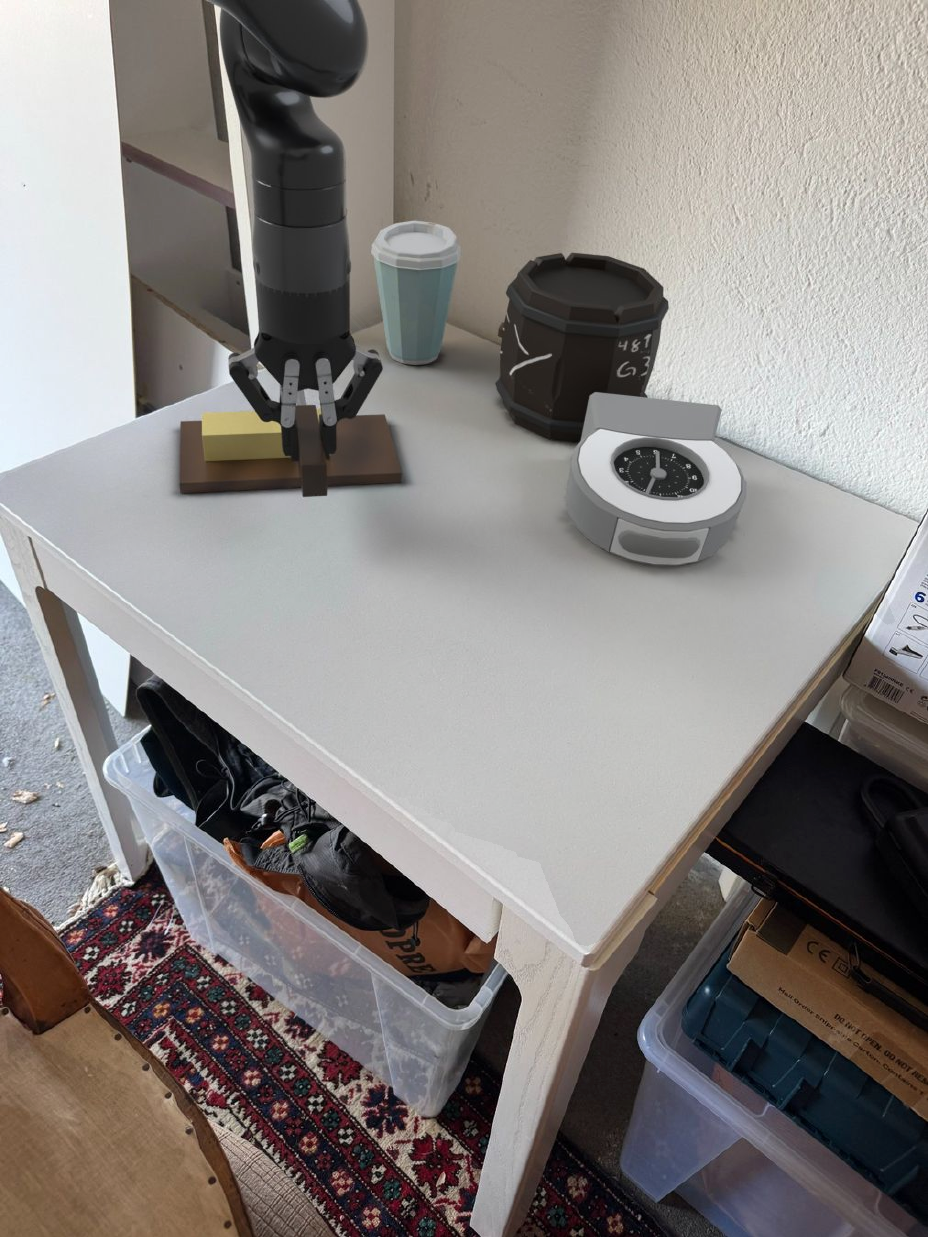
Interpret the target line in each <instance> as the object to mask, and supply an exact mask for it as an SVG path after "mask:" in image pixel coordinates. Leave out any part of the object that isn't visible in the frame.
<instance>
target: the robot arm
mask: <svg viewBox="0 0 928 1237" xmlns="http://www.w3.org/2000/svg"><path fill="white" fill-rule="evenodd" d="M205 1H206V2H208V3H210V4H211V5H215V6H216V7H218V8H220V13H219V42H220V49H221V53H222V54H221V55H222V58H223V60H222V61H223V64H224V69H225V72H226V75H227V79H228V83H229V86H230V91H231V94H232V97H233V101H234V104H235V109H236V112H237V115H238V119H239V122H240V125H241V128H242V131H243V134H244V137H245V139H246V144H247V146H248V149H249V154H250V176H251V189H252V204H253V205H252V206H253V230H252V249H253V250H252V251H253V260H252V264H253V270H254V278H255V292H256V308H257V322H258V333H257V335H256V337H255V339H254V342H253V347H252V348H251V349H248V350H247V351H244V352H243V353H241V354H240V353H238V352H232V353H230V354H229V356H228V358H227V359H228V363H227V364H228V373H229V377H231V379H232V380H233V382H234V384H235V385H236V387H237V388H238V389H239V390H240V392H241V393H242V395H243V396H244V398H245V399H246V400H247V402H248V404H249V405H250V406H251V407H252V409H253V411H255V412H256V413H257V415H258V416H259V417H260V419H261V420H262V421H263V422H270V421H274V422H277V423H279V424H280V425H281V437H282V448H283V453H284V454H285V456H291V462H298V427H297V421H296V415H295V409H296V405H297V391H301V390H304V391H305V390H312V391H316V392H317V391H318V392H317V393H318V400H319V405H320V406H319V407H320V409H321V414H319V428H320V434H321V439H322V442H323V447H324V452H325V458H326V460H330V454H335V452H336V449H337V440H336V439H337V437H336V425H337V423H338V422H339V421H340V420H341V419H344V418H347V419H352V418H354V417H355V416H356V415H358V413H359V412H360V410H361V408H362V406H363V404H364V403H365V402H366V400H367V398H368V396H369V395H370V392H371V391H372V389H373V387H374V386H375V384H376V382H377V381H378V379H379V377H380V375H381V374H382V372H383V369H384V367H383V363H382V360H381V358H380V353H379V352H378V350H376V349H373V348H371V349H368V350H365V349H363V348H361V347H359V346H356V344H355V339H354V337H353V336H352V334H351V280H350V279H351V271H352V261H351V249H350V248H351V247H350V237H349V229H348V222H347V220H348V218H347V158H346V151H345V146H344V143H343V140H342V139H341V138H340V136H339V135H338V134H337V132H335V131H334V130H333V129H332V128H331V127H330V126H328V125H327V124H326V123H324V121H322V120H321V118H320V117H319V116H318V115H317V113H316V111H315V109H314V106H313V102H312V98H317V99H329V98H334V97H338V96H341V95H342V94H345V93H346V92H348V91H349V90H350V89H352V88H353V87H354V86H355V85H356V84H357V82H358V81H359V79H360V78H361V77H362V75H363V73H364V70H365V68H366V65H367V61H368V55H369V30H368V26H367V22H366V18H365V15H364V11H363V8H362V6H361V4H360V1H359V0H205ZM351 361H353V364H352V369H353V371H354V373H353V375H352V377H351V379H350V381H349V382H348V384H347V386H346V387H345V389H344V391H343V393H342V395H341V397H340V398H337V399H335V393H334V392H335V391H334V386H333V385H334V384H335V383H336V382H337V380H338V379H339V378H340V376H341V375H342V374H343V372H344V371H345V370H346V368H347V367H348V366H349V364H350V363H351ZM259 363H260V364H261V365H262V366H263V367H264V368H265V369H266V371H268V373H269V374H270V375H271V376H272V377H273V379H274V380H275V381H276V382H277V383H278V384H279V398H278V399H279V400H278V401H275V400H273V399H272V398H271V397H270V396H269V394H268V393H267V391H266V390H265V388H264V387H263V385H262V383H261V382H260V381H259V379H258V376H259V368H258V364H259Z"/></svg>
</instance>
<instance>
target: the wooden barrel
mask: <svg viewBox="0 0 928 1237" xmlns="http://www.w3.org/2000/svg"><path fill="white" fill-rule="evenodd" d="M505 295H506V296H507V298H508V299H509V300H508V304H507V308H506V312H505V317H504V321H503V322H502V321H501V323H500V325H499V327H498V332H497V337H498V338H501V343H500V345H501V346H500V352H499V355H500V356H499V378H498V379H496V382H495V388H496V392H497V393H498V395H499V396H500V398H501V400H502V405H503V406H504V408H505V410H506V411H507V413H508V415H509V417H510V418H511V420H512V421H513V423H514V425H517V426H519V427H521V428H523V429H526V430H527V431H530V432H532V433H534V434H536V435H538V436H541V437H542V438H544V439H547V440H549V441H556V442H557V441H559V442H569V443H578V444H579V442H580V441H581V437H582V432H583V427H584V422H585V417H586V412H587V407H588V402H589V397H590V395H591V394H593V393H595V392H599V393H608V394H617V395H627V396H636V397H645V398H649V396H648V395H647V393H646V390H647V387H648V384H649V382H650V378H651V376H652V374H653V370H654V366H655V363H656V358H657V353H658V350H659V346H660V342H661V333H662V324H663V320H664V318H665V316H666V314H667V313H668V311H669V309H670V306H669V300H668V299H667V298H666V297H665V295H664V286H663V285H662V284H661V283H660V282H659V281H658V280H657V279H655V277H654V276H653V275H652V274H651V273H650V272H648V271H647V269H645V268H644V267H641V266H638V265H635V264H633V263H629V262H626V261H623V260H622V259H618V258H615V257H612V256H610V255H600V254H591V253H580V252H570V253H569V255H568V256H566V257H565V255H564V254H563V253H562V252H558V253H553V254H547V255H541V256H537V257H535V258H534V260H532V259H530V260H529V261H528V262H527V263H526V264H525V265H524V266H523V267H522V268H521V269H520V270H519V271H518V273H517V275H516V277H515V278H514V279H513V280H512V281H511V282H510V283H509V285H508V286H507V288H506V291H505Z"/></svg>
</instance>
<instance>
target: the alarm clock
mask: <svg viewBox="0 0 928 1237" xmlns="http://www.w3.org/2000/svg"><path fill="white" fill-rule="evenodd" d="M722 411H723V410H722V408H721V407H720V405H718V404H711V403H709V404H708V403H699V402H692V401H683V400H682V401H681V400H674V399H664V398H654V397H648V398H645V397H636V396H627V395H617V394H608V393H599V392H595V393H593V394H591V395H590V397H589V402H588V407H587V412H586V417H585V422H584V427H583V432H582V437H581V441H580V442H579V443H578V444H576V446H575V447H574V449H573V451H572V456H571V461H570V467H569V471H568V475H567V482H566V485H565V486H566V487H565V493H564V503H565V509H566V513H567V514H568V516H569V518H570V519H571V521H572V523H573V525H574V526H575V528H576V529H578V531H579V532H581V533H582V534H583V535H584V537H586V538H587V539H588V540H589V541H590V542H592V543H593V544H595V545H596V546H598V547H600V548H602V549H603V550H605V551H606V552H608V553H609V554H612V555H614V556H617V557H619V558H622V559H625V560H627V561H630V562H633V563H634V562H635V563H639V564H645V565H648V566H649V565H651V566H670V567H671V566H673V567H674V566H681V565H686V564H693V563H697V562H700V561H703V560H705V559H708V558H709V557H711V556H714V555H716V554H717V553H718V552H720V550H722V549H723V548H724V547H725V546H726V545H727V544H728V543H729V541H730V538H731V536H732V534H733V532H734V530H735V527H736V524H737V522H738V519H739V516H740V514H741V512H742V508H743V506H744V503H745V500H746V498H747V482H746V478H745V476H744V474H743V472H742V468H741V467H740V466H739V465H738V463H737V462H736V461H735V460H734V459H733V457H732V456H731V455H730V454H729V453H728V452H727V451H726V450H725V449H724V448H723V447H721V446H720V445H719V444H717V443H716V442H715V440H716V436H717V431H718V427H719V423H720V418H721V415H722Z"/></svg>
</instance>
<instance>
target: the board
mask: <svg viewBox="0 0 928 1237" xmlns="http://www.w3.org/2000/svg"><path fill="white" fill-rule="evenodd" d="M179 422H180V426H179V428H180V429H179V468H178V469H179V472H178V478H179V479H178V485H179V493H180V494H192V493H193V494H195V493H213V492H214V493H217V492H233V491H234V492H235V491H251V490H252V491H254V490H255V491H257V490H275V489H292V488H293V489H294V488H301V482H300V475H299V469H298V462H291V458H270V459H247V460H223V461H205V456H204V447H203V439H202V420H182V421H179ZM336 437H337V439H336V440H337V449H336V452H335V454H331V455H330V460H326V463H327V487H335V486H336V487H337V486H357V485H374V484H375V485H376V484H395V483H396V484H397V483H402V482H403V481H402V480H403V471H402V468H401V464H400V462H399V458H398V455H397V450H396V447H395V444H394V441H393V438H392V437H393V436H392V434H391V430H390V428H389V424H388V421H387V416H386V414H384V413H381V414H357V415H356V416H355V417H354V418H352V419H347V418H344V419H341V420H340V421H339V422H338V423H337V425H336Z"/></svg>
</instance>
